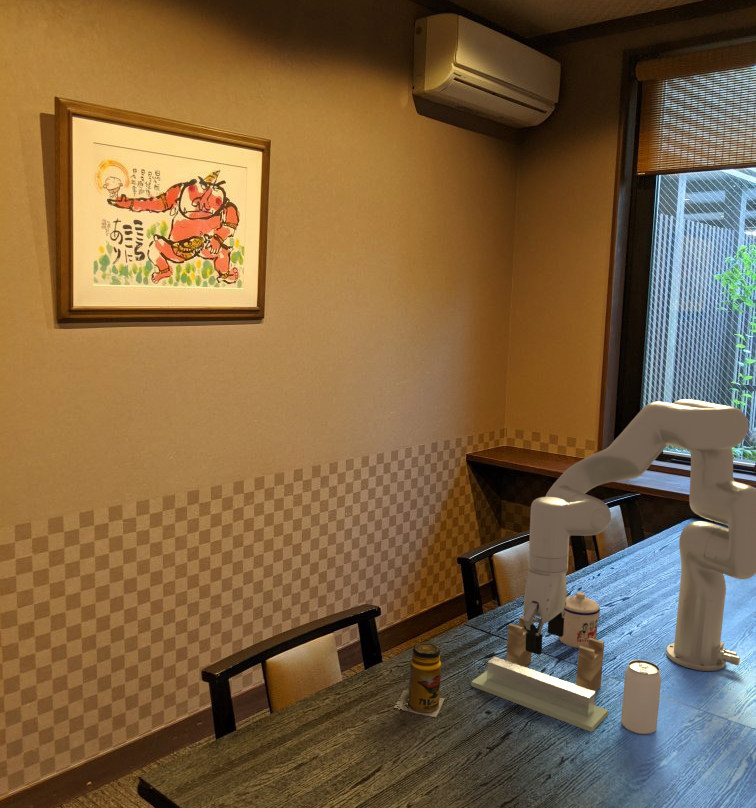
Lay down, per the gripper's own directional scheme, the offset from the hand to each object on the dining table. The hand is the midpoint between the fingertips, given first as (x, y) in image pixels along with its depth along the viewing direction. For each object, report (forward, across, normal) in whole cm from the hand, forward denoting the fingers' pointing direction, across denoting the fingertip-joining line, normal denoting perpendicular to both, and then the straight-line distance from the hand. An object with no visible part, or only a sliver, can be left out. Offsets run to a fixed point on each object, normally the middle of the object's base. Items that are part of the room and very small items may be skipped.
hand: (544, 643), depth 158 cm
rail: (+11, +1, 0) cm, 11 cm away
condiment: (+11, +18, -18) cm, 28 cm away
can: (+12, -3, +18) cm, 23 cm away
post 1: (+12, -10, -10) cm, 19 cm away
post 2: (+12, -10, +6) cm, 17 cm away
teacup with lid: (+13, -32, -6) cm, 35 cm away
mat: (+12, +1, 0) cm, 12 cm away
